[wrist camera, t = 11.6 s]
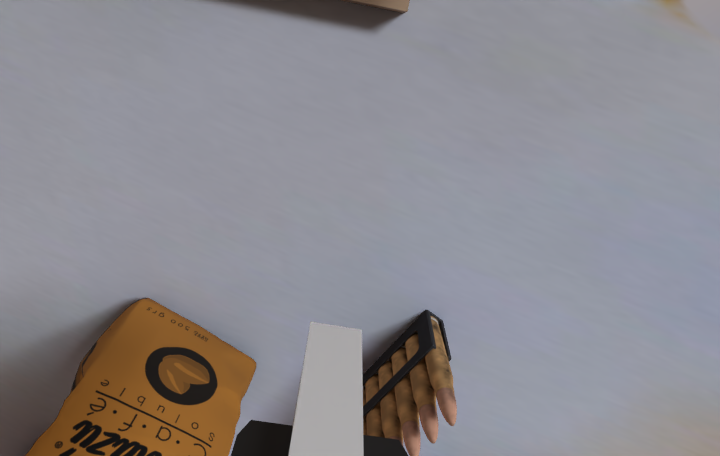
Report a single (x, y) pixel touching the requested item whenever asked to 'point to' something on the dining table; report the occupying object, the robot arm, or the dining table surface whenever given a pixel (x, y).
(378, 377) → the ammunition clip
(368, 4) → the hole plate
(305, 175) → the dining table surface
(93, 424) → the coffee package
